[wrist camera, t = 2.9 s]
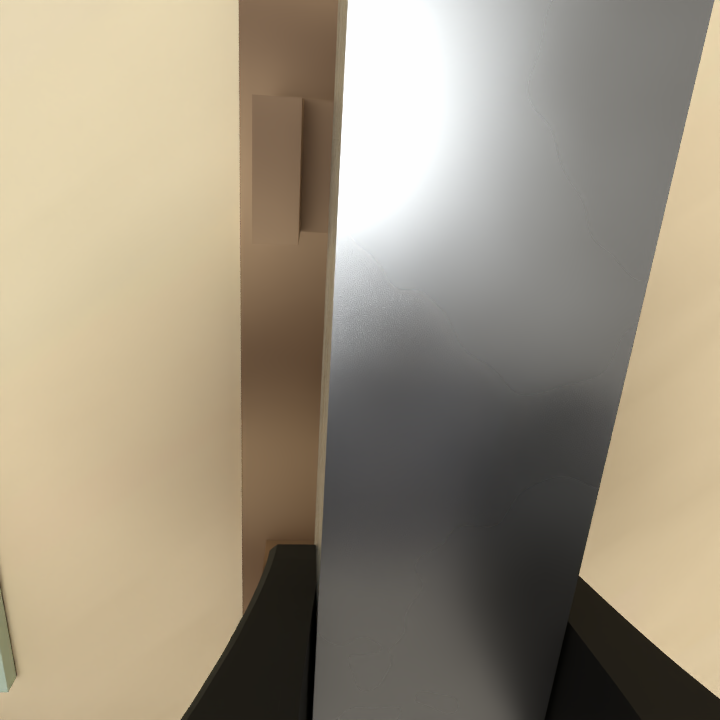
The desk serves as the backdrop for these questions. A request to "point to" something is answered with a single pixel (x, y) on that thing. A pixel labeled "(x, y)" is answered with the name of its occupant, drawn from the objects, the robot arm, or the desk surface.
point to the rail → (480, 332)
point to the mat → (5, 653)
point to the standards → (282, 265)
